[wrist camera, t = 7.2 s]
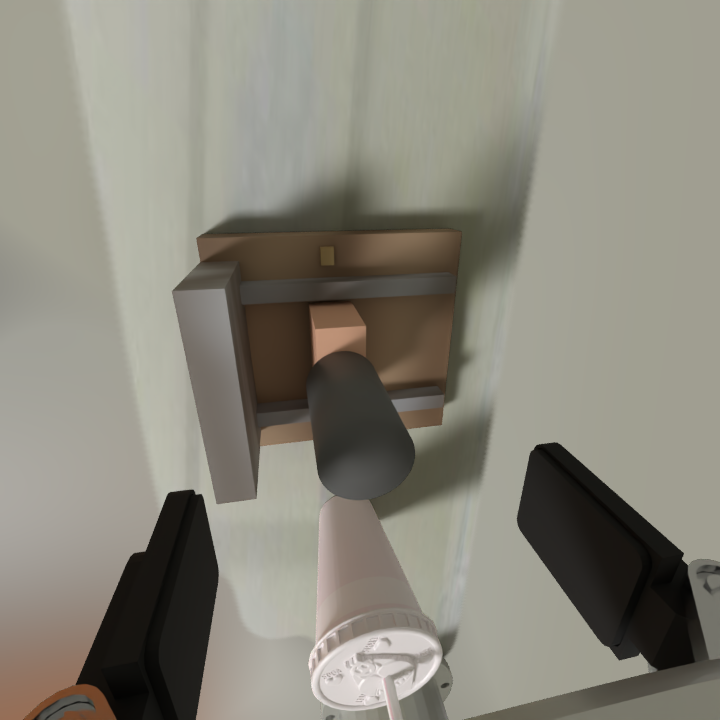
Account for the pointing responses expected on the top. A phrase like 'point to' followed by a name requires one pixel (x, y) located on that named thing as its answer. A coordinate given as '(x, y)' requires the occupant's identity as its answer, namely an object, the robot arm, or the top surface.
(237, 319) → the vise base
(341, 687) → the smoothie
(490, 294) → the top surface
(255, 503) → the top surface
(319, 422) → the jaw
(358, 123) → the top surface
